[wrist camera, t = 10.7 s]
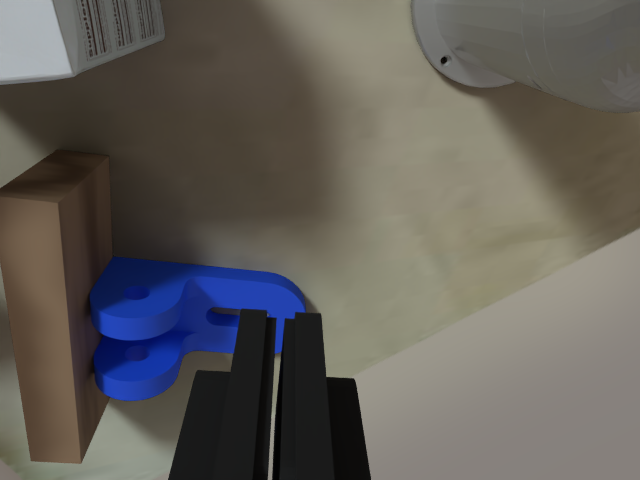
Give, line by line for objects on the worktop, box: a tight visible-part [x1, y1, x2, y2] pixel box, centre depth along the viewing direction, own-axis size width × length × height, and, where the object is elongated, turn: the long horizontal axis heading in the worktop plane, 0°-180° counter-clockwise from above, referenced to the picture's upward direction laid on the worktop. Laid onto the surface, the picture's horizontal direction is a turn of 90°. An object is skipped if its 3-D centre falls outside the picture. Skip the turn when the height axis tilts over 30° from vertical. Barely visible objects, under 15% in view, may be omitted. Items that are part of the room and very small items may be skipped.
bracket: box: [90, 256, 306, 401], centre depth 43 cm, size 18×8×9 cm, turn 81°
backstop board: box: [0, 150, 113, 464], centre depth 40 cm, size 4×24×10 cm, turn 171°
